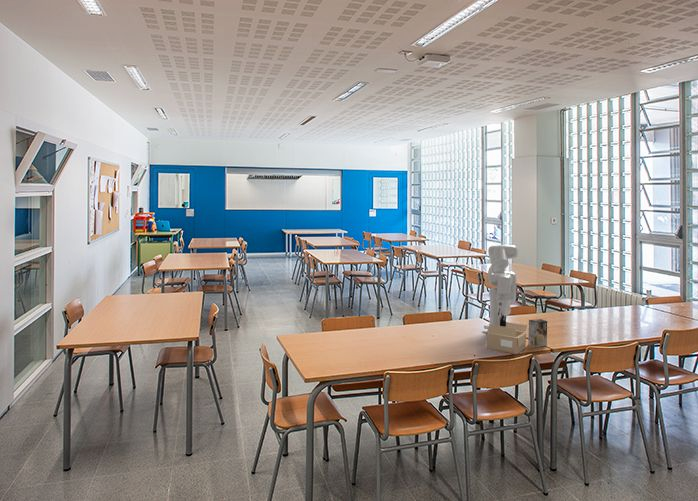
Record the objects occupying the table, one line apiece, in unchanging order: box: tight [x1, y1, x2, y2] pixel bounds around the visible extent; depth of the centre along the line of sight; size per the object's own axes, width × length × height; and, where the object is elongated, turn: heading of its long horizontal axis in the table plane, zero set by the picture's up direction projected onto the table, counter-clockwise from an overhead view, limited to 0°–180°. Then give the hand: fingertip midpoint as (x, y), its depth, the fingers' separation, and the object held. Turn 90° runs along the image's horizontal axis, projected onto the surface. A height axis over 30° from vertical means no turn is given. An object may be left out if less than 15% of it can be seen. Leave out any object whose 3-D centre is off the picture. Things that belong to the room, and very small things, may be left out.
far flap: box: [506, 321, 528, 332], centre depth 312 cm, size 16×5×1 cm
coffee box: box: [527, 318, 548, 348], centre depth 310 cm, size 9×6×16 cm
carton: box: [486, 331, 527, 355], centre depth 304 cm, size 19×16×10 cm
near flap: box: [488, 323, 516, 337], centre depth 297 cm, size 16×5×1 cm
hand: (502, 326), depth 298 cm, fingers closed
